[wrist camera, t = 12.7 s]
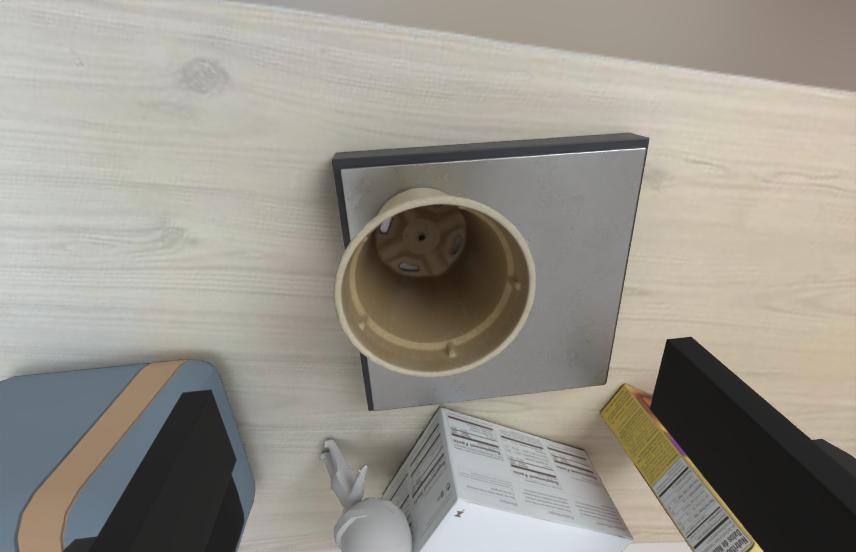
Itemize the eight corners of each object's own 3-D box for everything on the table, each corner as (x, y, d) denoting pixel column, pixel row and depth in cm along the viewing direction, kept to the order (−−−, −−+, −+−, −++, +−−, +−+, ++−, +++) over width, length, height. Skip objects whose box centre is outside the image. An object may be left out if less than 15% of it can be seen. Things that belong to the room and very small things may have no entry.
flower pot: (334, 166, 25) (315, 209, 17) (491, 151, 25) (541, 186, 18) (358, 304, 29) (351, 388, 21) (492, 288, 30) (533, 365, 22)
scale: (335, 152, 27) (330, 161, 25) (629, 132, 29) (655, 138, 26) (369, 391, 36) (368, 416, 34) (593, 366, 38) (610, 389, 35)
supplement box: (379, 497, 42) (379, 603, 34) (439, 403, 38) (456, 498, 29) (519, 530, 47) (549, 629, 39) (587, 449, 42) (638, 543, 34)
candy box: (693, 406, 41) (849, 572, 28) (664, 437, 43) (798, 608, 29) (625, 379, 39) (760, 546, 25) (597, 412, 40) (710, 587, 27)
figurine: (313, 419, 35) (375, 557, 27) (369, 408, 39) (440, 528, 30) (295, 484, 39) (345, 625, 30) (348, 469, 42) (407, 592, 33)
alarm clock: (265, 487, 40) (203, 718, 26) (83, 510, 39) (-88, 765, 24) (220, 345, 33) (100, 555, 18) (-6, 367, 31) (-322, 611, 17)
